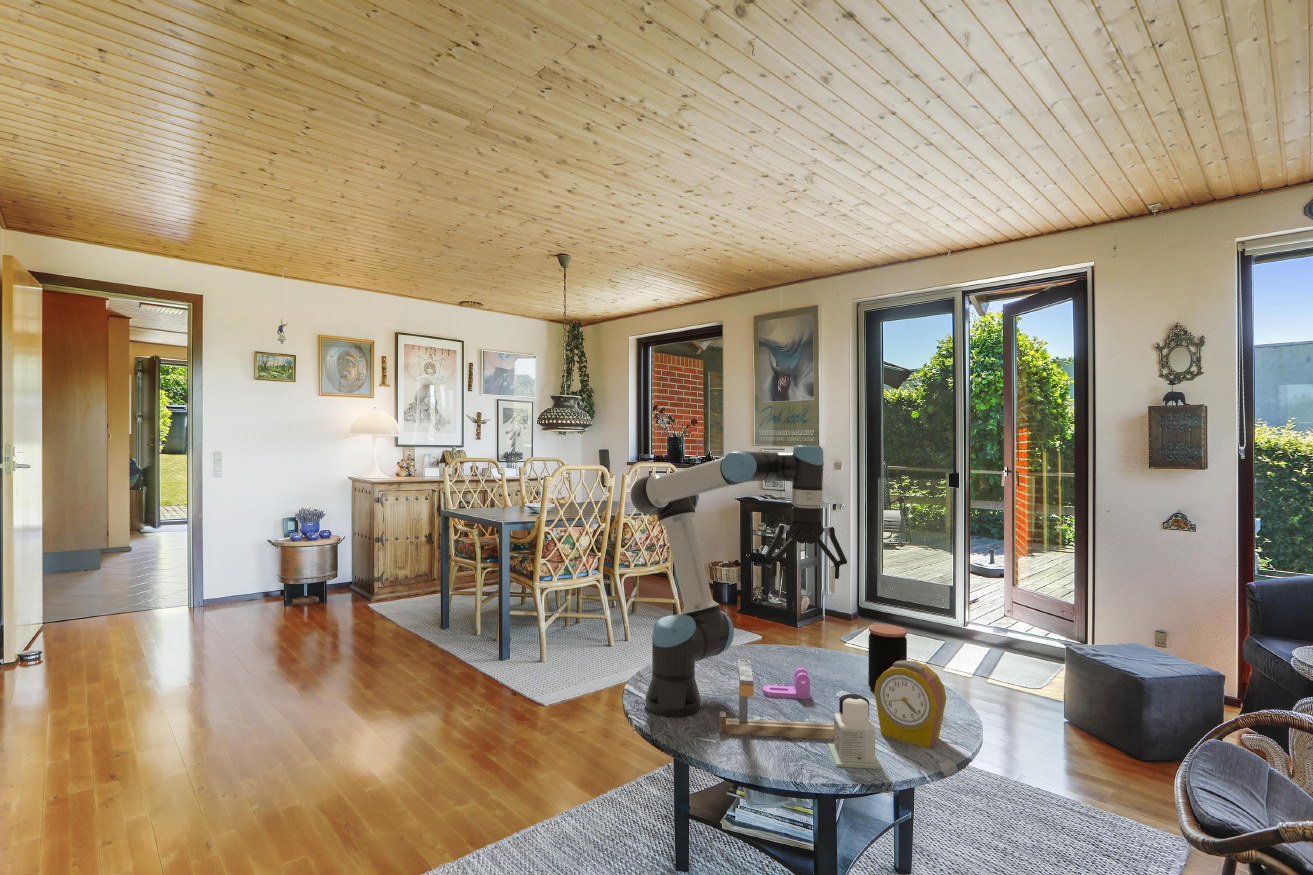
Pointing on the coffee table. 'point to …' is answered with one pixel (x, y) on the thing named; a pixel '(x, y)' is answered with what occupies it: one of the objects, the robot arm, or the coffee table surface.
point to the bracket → (797, 691)
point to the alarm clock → (910, 703)
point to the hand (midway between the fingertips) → (804, 590)
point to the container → (854, 730)
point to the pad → (853, 764)
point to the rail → (776, 728)
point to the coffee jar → (885, 649)
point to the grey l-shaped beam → (744, 687)
